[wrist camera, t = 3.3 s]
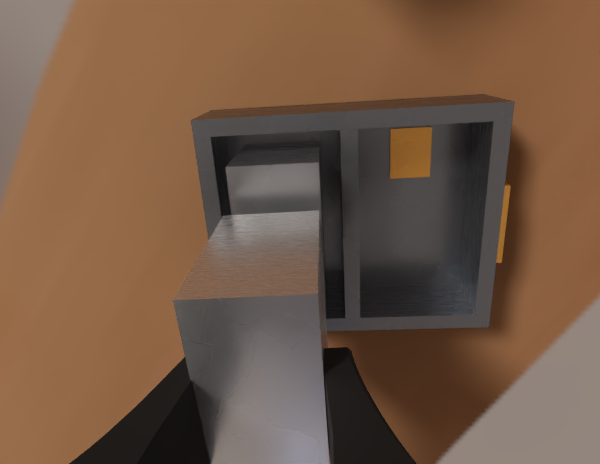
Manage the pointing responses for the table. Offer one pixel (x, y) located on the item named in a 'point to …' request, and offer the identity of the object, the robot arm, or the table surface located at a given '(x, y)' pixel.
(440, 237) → the rack
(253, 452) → the grey block
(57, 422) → the table surface
